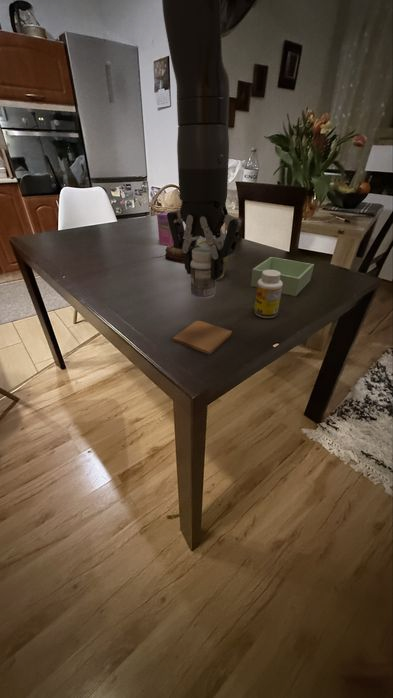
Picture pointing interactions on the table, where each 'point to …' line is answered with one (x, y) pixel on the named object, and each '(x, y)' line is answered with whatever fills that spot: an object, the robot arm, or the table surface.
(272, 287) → the supplement bottle
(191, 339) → the cork mat
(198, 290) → the pill bottle
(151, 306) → the table surface
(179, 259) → the pastry
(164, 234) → the box
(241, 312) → the table surface
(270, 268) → the bin
